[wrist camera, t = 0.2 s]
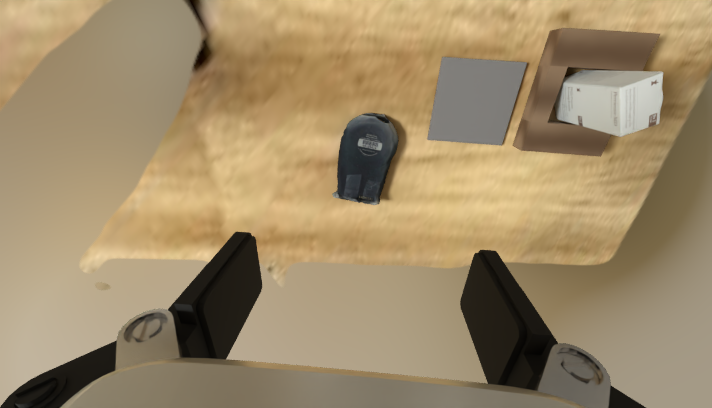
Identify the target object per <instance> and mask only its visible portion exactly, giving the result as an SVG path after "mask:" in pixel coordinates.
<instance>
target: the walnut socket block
mask: <svg viewBox="0 0 712 408" xmlns="http://www.w3.org/2000/svg"><path fill="white" fill-rule="evenodd" d="M659 35H660V34H653V33H637V32H621V31H605V30H589V29H572V28H561V29H557V30H552V31H550V33H549V36H548V39H547V42H546V45H545V48H544V51H543V54H542V57H541V60H540V63H539V66H538V70H537V73H536V76H535V79H534V82H533V85H532V88H531V91H530V94H529V97H528V100H527V103H526V106H525V109H524V112H523V116H522V119H521V122H520V125H519V128H518V131H517V134H516V137H515V140H514V143H513V146H514V147H516V148H518V149H520V150H522V151H536V152H549V153H562V154H575V155H588V156H601V155H602V153H603V151H604V149H605V147H606V145H607V143H608V141H609V139H610V137H611V134H608V133H605V132H601V131H597V130H594V129H590V128H587V127H583V126H579V125H576V124H572V123H569V122H562V121H548V119H549V117H550V114H551V111H552V109H553V106H554V103H555V101H556V98H557V95H558V93H559V90H560V87H561V84H562V82H563V79H564V76H565V74H566V71H567V68H578V69H593V70H607V71H643V68H644V66H645V64H646V62H647V60H648V58H649V56H650V54H651V52H652V50H653V48H654V46H655V44H656V42H657V40H658V38H659Z"/></svg>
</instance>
